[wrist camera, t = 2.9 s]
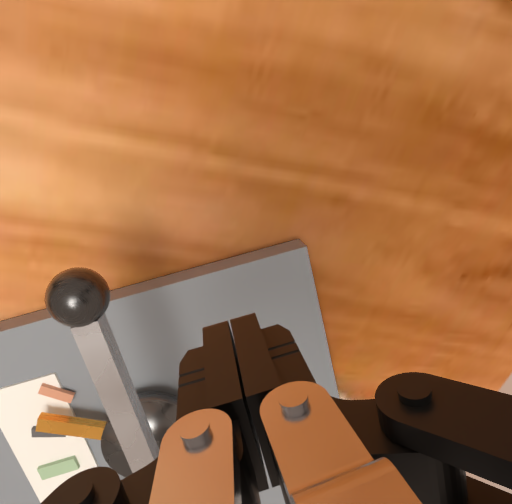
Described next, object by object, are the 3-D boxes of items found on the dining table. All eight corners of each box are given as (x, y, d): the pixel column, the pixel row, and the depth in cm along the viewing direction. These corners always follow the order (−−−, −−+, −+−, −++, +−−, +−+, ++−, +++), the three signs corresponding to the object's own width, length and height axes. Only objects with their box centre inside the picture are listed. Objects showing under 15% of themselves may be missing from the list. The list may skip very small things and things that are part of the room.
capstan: (438, 308, 26) (532, 375, 19) (319, 589, 32) (356, 726, 25) (76, 223, 22) (13, 267, 14) (13, 569, 27) (-56, 730, 20)
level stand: (298, 238, 27) (308, 248, 24) (349, 468, 33) (361, 494, 30) (-98, 348, 25) (-130, 370, 23) (31, 568, 31) (17, 604, 29)
